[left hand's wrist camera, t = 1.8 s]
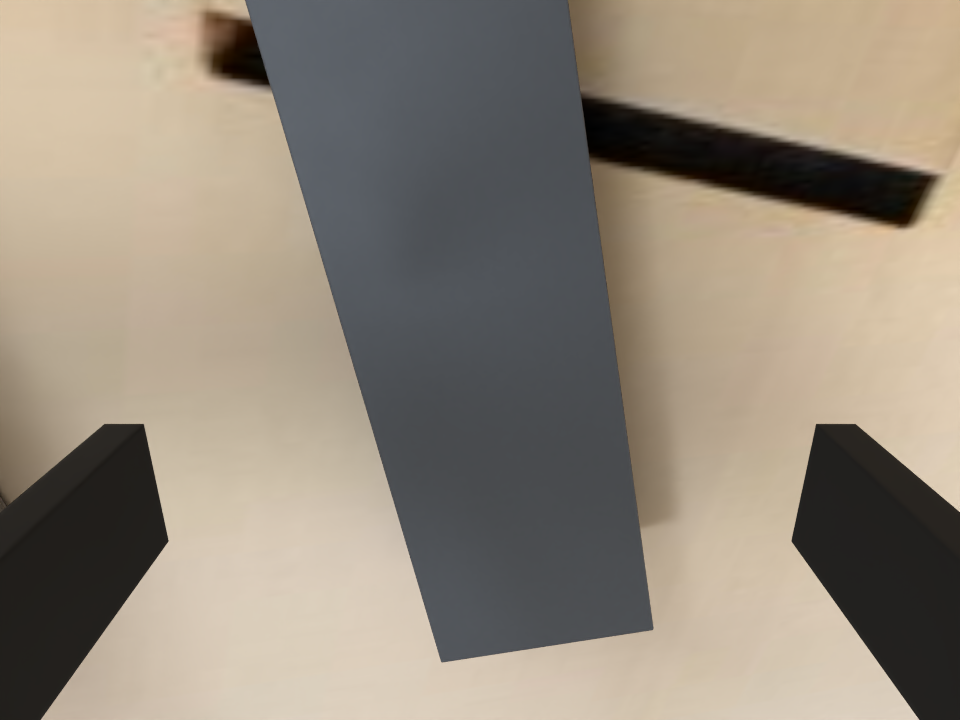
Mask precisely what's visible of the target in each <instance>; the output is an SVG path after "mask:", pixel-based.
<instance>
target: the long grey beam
mask: <svg viewBox="0 0 960 720" xmlns="http://www.w3.org/2000/svg"><path fill="white" fill-rule="evenodd" d="M245 1H246V5H247V8H248V11H249V15H250V18H251V22H252V25H253V28H254V32H255V35H256V38H257V42H258V45H259V49H260V52H261V55H262V59H263V62H264V65H265V69H266V72H267V76H268V79H269V82H270V86H271V89H272V92H273V96H274V99H275V103H276V106H277V109H278V113H279V116H280V119H281V123H282V126H283V130H284V133H285V136H286V140H287V143H288V146H289V150H290V153H291V157H292V160H293V163H294V167H295V170H296V173H297V177H298V180H299V184H300V187H301V190H302V194H303V197H304V200H305V204H306V207H307V211H308V214H309V217H310V221H311V224H312V227H313V231H314V234H315V238H316V241H317V244H318V248H319V251H320V254H321V258H322V261H323V265H324V268H325V271H326V275H327V278H328V281H329V285H330V288H331V292H332V295H333V298H334V302H335V305H336V308H337V312H338V315H339V319H340V322H341V325H342V329H343V332H344V335H345V339H346V342H347V346H348V349H349V352H350V356H351V359H352V362H353V366H354V369H355V373H356V376H357V379H358V383H359V386H360V389H361V393H362V396H363V399H364V403H365V406H366V410H367V413H368V416H369V420H370V423H371V426H372V430H373V433H374V437H375V440H376V443H377V447H378V450H379V453H380V457H381V460H382V464H383V467H384V470H385V474H386V477H387V480H388V484H389V487H390V491H391V494H392V497H393V501H394V504H395V507H396V511H397V514H398V518H399V521H400V524H401V528H402V531H403V534H404V538H405V541H406V545H407V548H408V551H409V555H410V558H411V561H412V565H413V568H414V572H415V575H416V578H417V582H418V585H419V588H420V592H421V595H422V599H423V602H424V605H425V609H426V612H427V615H428V619H429V622H430V626H431V629H432V632H433V636H434V639H435V642H436V646H437V649H438V653H439V656H440V659H441V662H448V661H454V660H461V659H467V658H474V657H480V656H487V655H493V654H500V653H506V652H513V651H519V650H526V649H532V648H539V647H545V646H552V645H558V644H565V643H571V642H578V641H584V640H591V639H597V638H604V637H610V636H617V635H623V634H630V633H636V632H643V631H649V630H653V622H652V614H651V607H650V600H649V592H648V585H647V578H646V570H645V563H644V556H643V548H642V541H641V534H640V526H639V519H638V512H637V504H636V497H635V490H634V482H633V475H632V468H631V460H630V453H629V446H628V438H627V431H626V424H625V416H624V409H623V402H622V394H621V387H620V380H619V372H618V365H617V358H616V350H615V343H614V335H613V328H612V321H611V313H610V306H609V299H608V291H607V284H606V277H605V269H604V262H603V255H602V247H601V240H600V233H599V225H598V218H597V211H596V203H595V196H594V189H593V181H592V174H591V167H590V159H589V152H588V145H587V137H586V130H585V123H584V115H583V108H582V101H581V93H580V86H579V79H578V71H577V64H576V57H575V49H574V42H573V35H572V27H571V20H570V13H569V5H568V0H245Z"/></svg>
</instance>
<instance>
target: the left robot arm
mask: <svg viewBox="0 0 960 720" xmlns="http://www.w3.org/2000/svg"><path fill="white" fill-rule="evenodd" d="M167 543H168V536H167V532H166V527H165V522H164V518H163V513H162V508H161V503H160V499H159V494H158V489H157V484H156V480H155V475H154V470H153V465H152V461H151V456H150V451H149V447H148V442H147V437H146V432H145V428H144V424H104V425H103V426H102V427H101V428H99V429H98V430H97V431H96V432H95V433H93V434H92V435H91V436H90V437H89V438H88V439H86V440H85V441H84V442H83V443H82V444H80V445H79V446H78V447H77V448H76V449H74V450H73V451H72V452H71V453H70V454H69V455H67V456H66V457H65V458H64V459H63V460H61V461H60V462H59V463H58V464H57V465H56V466H54V467H53V468H52V469H51V470H50V471H48V472H47V473H46V474H45V475H44V476H43V477H41V478H40V479H39V480H38V481H37V482H35V483H34V484H33V485H32V486H31V487H30V488H28V489H27V490H26V491H25V492H24V493H22V494H21V495H20V496H19V497H18V498H17V499H15V500H14V501H13V502H12V503H11V504H9V505H8V506H6V504H5V503H4V501H3V500H2V498H1V497H0V720H41V718H42V717H43V716H44V714H45V713H46V712H47V710H48V709H49V707H50V706H51V705H52V703H53V702H54V700H55V699H56V698H57V696H58V695H59V693H60V692H61V691H62V689H63V688H64V686H65V685H66V684H67V682H68V681H69V679H70V678H71V677H72V675H73V674H74V672H75V671H76V670H77V668H78V667H79V665H80V664H81V663H82V661H83V660H84V658H85V657H86V656H87V654H88V653H89V652H90V650H91V649H92V647H93V646H94V645H95V643H96V642H97V640H98V639H99V638H100V636H101V635H102V633H103V632H104V631H105V629H106V628H107V626H108V625H109V624H110V622H111V621H112V619H113V618H114V617H115V615H116V614H117V612H118V611H119V610H120V608H121V607H122V605H123V604H124V603H125V601H126V600H127V598H128V597H129V596H130V594H131V593H132V592H133V590H134V589H135V587H136V586H137V585H138V583H139V582H140V580H141V579H142V578H143V576H144V575H145V573H146V572H147V571H148V569H149V568H150V566H151V565H152V564H153V562H154V561H155V559H156V558H157V557H158V555H159V554H160V552H161V551H162V550H163V548H164V547H165V545H166V544H167ZM792 543H793V544H794V545H795V547H796V548H797V550H798V551H799V552H800V554H801V555H802V557H803V558H804V559H805V561H806V562H807V564H808V565H809V566H810V568H811V569H812V571H813V572H814V573H815V575H816V576H817V578H818V579H819V580H820V582H821V583H822V585H823V586H824V587H825V589H826V590H827V592H828V593H829V594H830V596H831V597H832V598H833V600H834V601H835V603H836V604H837V605H838V607H839V608H840V610H841V611H842V612H843V614H844V615H845V617H846V618H847V619H848V621H849V622H850V624H851V625H852V626H853V628H854V629H855V631H856V632H857V633H858V635H859V636H860V638H861V639H862V640H863V642H864V643H865V645H866V646H867V647H868V649H869V650H870V652H871V653H872V654H873V656H874V657H875V658H876V660H877V661H878V663H879V664H880V665H881V667H882V668H883V670H884V671H885V672H886V674H887V675H888V677H889V678H890V679H891V681H892V682H893V684H894V685H895V686H896V688H897V689H898V691H899V692H900V693H901V695H902V696H903V698H904V699H905V700H906V702H907V703H908V705H909V706H910V707H911V709H912V710H913V712H914V713H915V714H916V716H917V717H918V718H919V720H960V512H959V511H958V510H956V509H955V508H954V507H953V506H952V505H951V504H949V503H948V502H947V501H946V500H945V499H943V498H942V497H941V496H940V495H939V494H938V493H936V492H935V491H934V490H933V489H932V488H930V487H929V486H928V485H927V484H926V483H925V482H923V481H922V480H921V479H920V478H919V477H917V476H916V475H915V474H914V473H913V472H912V471H910V470H909V469H908V468H907V467H906V466H904V465H903V464H902V463H901V462H900V461H899V460H897V459H896V458H895V457H894V456H893V455H891V454H890V453H889V452H888V451H887V450H886V449H884V448H883V447H882V446H881V445H880V444H878V443H877V442H876V441H875V440H874V439H872V438H871V437H870V436H869V435H868V434H867V433H865V432H864V431H863V430H862V429H861V428H859V427H858V426H857V425H856V424H816V428H815V432H814V437H813V442H812V447H811V451H810V456H809V461H808V465H807V470H806V475H805V480H804V484H803V489H802V494H801V499H800V503H799V508H798V513H797V518H796V522H795V527H794V532H793V536H792Z"/></svg>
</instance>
